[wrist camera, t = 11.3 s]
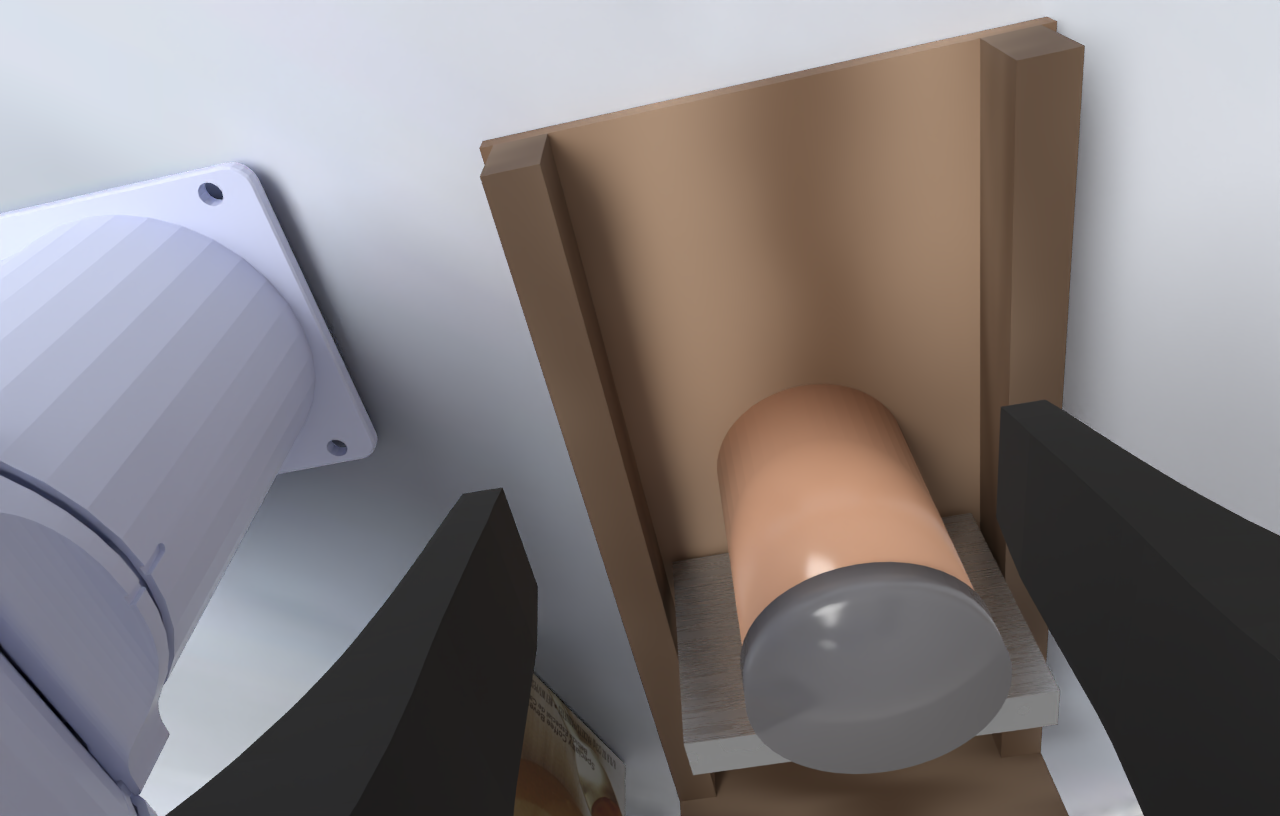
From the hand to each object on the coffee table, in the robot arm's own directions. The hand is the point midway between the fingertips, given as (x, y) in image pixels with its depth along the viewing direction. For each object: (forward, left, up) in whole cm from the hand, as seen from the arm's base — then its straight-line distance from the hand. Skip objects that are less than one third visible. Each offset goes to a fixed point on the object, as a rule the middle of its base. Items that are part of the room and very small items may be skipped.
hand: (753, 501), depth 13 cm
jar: (+2, -7, -9) cm, 11 cm away
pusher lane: (+2, -8, -9) cm, 12 cm away
